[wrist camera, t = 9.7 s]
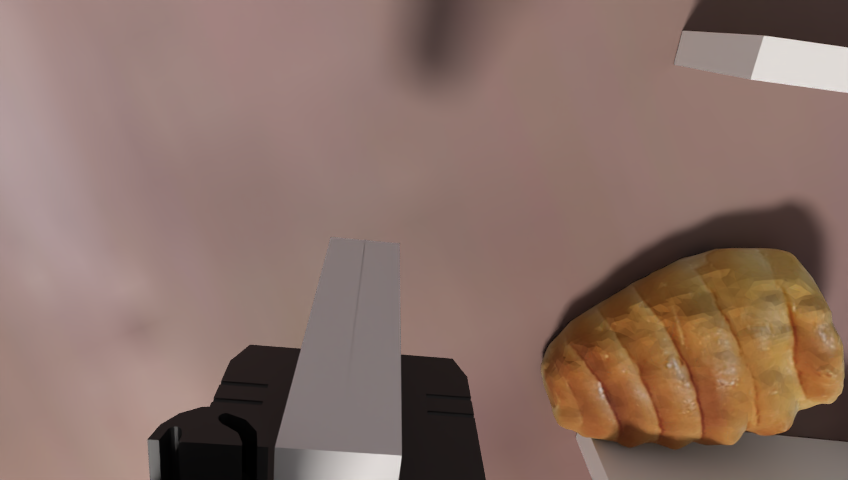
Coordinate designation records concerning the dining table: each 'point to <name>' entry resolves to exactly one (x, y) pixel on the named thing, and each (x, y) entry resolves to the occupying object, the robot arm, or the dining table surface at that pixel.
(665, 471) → the box
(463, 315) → the dining table surface
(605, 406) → the pastry
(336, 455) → the robot arm
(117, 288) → the dining table surface
